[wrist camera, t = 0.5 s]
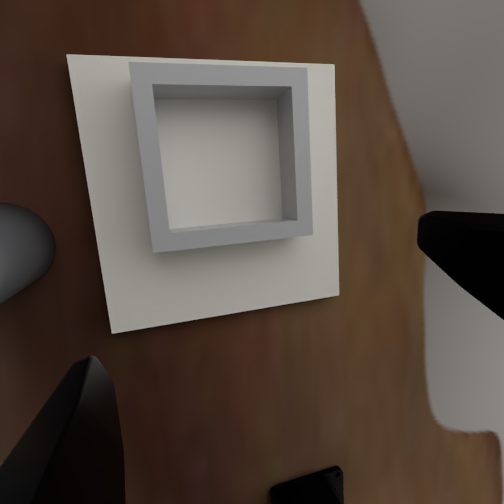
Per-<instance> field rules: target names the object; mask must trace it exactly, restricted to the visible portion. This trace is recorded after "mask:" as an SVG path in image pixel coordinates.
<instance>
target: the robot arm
mask: <svg viewBox="0 0 504 504" xmlns="http://www.w3.org/2000/svg"><path fill="white" fill-rule="evenodd" d="M417 244H418V247H419V248H420V249H421V250H422V251H423V252H424V253H425V254H426V255H427V256H428V257H429V258H430V259H431V260H432V261H433V262H435V263H436V264H437V265H438V266H439V267H440V268H441V269H442V270H443V271H444V272H445V273H446V274H447V275H448V276H450V277H451V278H452V279H453V280H454V281H455V282H456V283H457V284H458V285H460V286H461V287H462V288H463V289H464V290H466V291H467V292H468V293H470V294H471V295H472V296H473V297H475V298H476V299H477V300H479V301H480V302H481V303H483V304H484V305H485V306H486V307H488V308H489V309H490V310H492V311H493V312H494V313H496V314H497V315H498V316H499V317H501V318H502V319H503V320H504V214H495V213H474V212H453V211H431V212H428V213H426V214H424V215H422V216H420V218H419V220H418V228H417ZM270 495H271V504H344V497H343V471H342V470H341V468H340V467H339V466H335V467H332V468H328V469H325V470H322V471H319V472H316V473H313V474H310V475H307V476H304V477H300V478H297V479H294V480H291V481H288V482H285V483H282V484H279V485H276V486H274V487H273V488H272V489H271V491H270ZM0 504H126V503H125V470H124V450H123V442H122V435H121V428H120V421H119V415H118V408H117V401H116V395H115V388H114V384H113V381H112V379H111V377H110V376H109V374H108V373H107V371H106V370H105V369H104V367H103V366H102V364H101V363H100V362H99V360H98V359H97V358H96V357H95V356H89V357H86V358H84V359H81V360H79V361H77V362H75V363H74V364H73V365H72V366H71V367H70V369H69V370H68V372H67V373H66V375H65V376H64V377H63V379H62V380H61V382H60V383H59V384H58V386H57V387H56V389H55V390H54V392H53V393H52V394H51V396H50V397H49V399H48V400H47V401H46V403H45V404H44V406H43V407H42V409H41V410H40V411H39V413H38V414H37V416H36V417H35V418H34V420H33V421H32V423H31V424H30V426H29V427H28V428H27V430H26V431H25V433H24V434H23V435H22V437H21V438H20V440H19V441H18V443H17V444H16V445H15V447H14V448H13V450H12V451H11V453H10V454H9V455H8V457H7V458H6V460H5V461H4V462H3V464H2V465H1V467H0Z"/></svg>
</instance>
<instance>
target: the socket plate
mask: <svg viewBox="0 0 504 504" xmlns="http://www.w3.org/2000/svg"><path fill="white" fill-rule="evenodd" d="M66 55H67V61H68V67H69V73H70V80H71V86H72V92H73V98H74V104H75V110H76V116H77V122H78V129H79V135H80V141H81V147H82V153H83V159H84V165H85V172H86V178H87V184H88V190H89V196H90V202H91V208H92V215H93V221H94V227H95V233H96V239H97V245H98V251H99V258H100V264H101V270H102V276H103V282H104V288H105V294H106V301H107V307H108V313H109V319H110V325H111V331H112V334H114V333H120V332H126V331H132V330H138V329H143V328H149V327H155V326H161V325H167V324H173V323H179V322H185V321H191V320H197V319H202V318H208V317H214V316H220V315H226V314H232V313H238V312H244V311H250V310H255V309H261V308H267V307H273V306H279V305H285V304H291V303H297V302H303V301H309V300H314V299H320V298H326V297H332V296H338V295H339V263H338V215H337V167H336V119H335V70H334V64H309V63H282V62H255V61H228V60H202V59H175V58H148V57H121V56H95V55H68V54H66Z"/></svg>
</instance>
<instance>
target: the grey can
mask: <svg viewBox="0 0 504 504" xmlns="http://www.w3.org/2000/svg"><path fill="white" fill-rule="evenodd" d="M54 257H55V240H54V236H53V234H52V232H51V230H50V228H49V226H48V225H47V224H46V223H45V221H44V220H43V219H42V218H41V217H39V216H38V215H37V214H36V213H34V212H32V211H31V210H29V209H27V208H24V207H22V206H19V205H15V204H9V203H0V304H1V303H2V302H4V301H6V300H7V299H9V298H10V297H12V296H13V295H15V294H16V293H18V292H19V291H21V290H23V289H24V288H26V287H27V286H29V285H30V284H32V283H33V282H35V281H36V280H38V279H39V278H41V277H42V276H43V275H44V274H45V273H46V272H47V271H48V269H49V268H50V266H51V265H52V263H53V260H54Z"/></svg>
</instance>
